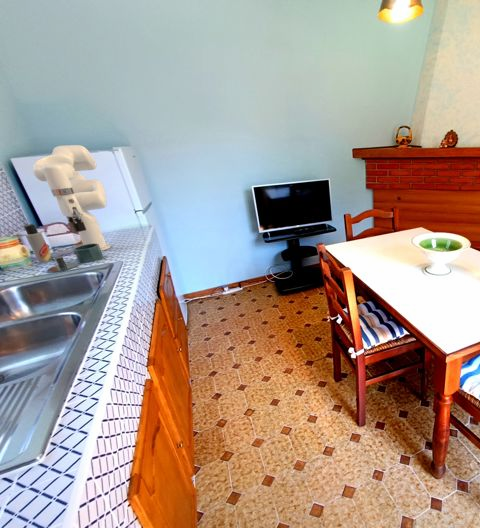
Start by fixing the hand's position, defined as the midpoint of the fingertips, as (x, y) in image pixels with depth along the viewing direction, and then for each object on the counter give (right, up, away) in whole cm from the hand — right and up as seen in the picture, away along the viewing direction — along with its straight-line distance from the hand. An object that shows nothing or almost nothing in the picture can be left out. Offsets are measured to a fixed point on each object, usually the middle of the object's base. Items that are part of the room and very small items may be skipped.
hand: (78, 229), depth 146 cm
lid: (-5, -19, -3) cm, 19 cm away
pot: (+1, -15, +7) cm, 16 cm away
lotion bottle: (-23, -16, +7) cm, 29 cm away
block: (0, -1, 0) cm, 1 cm away
